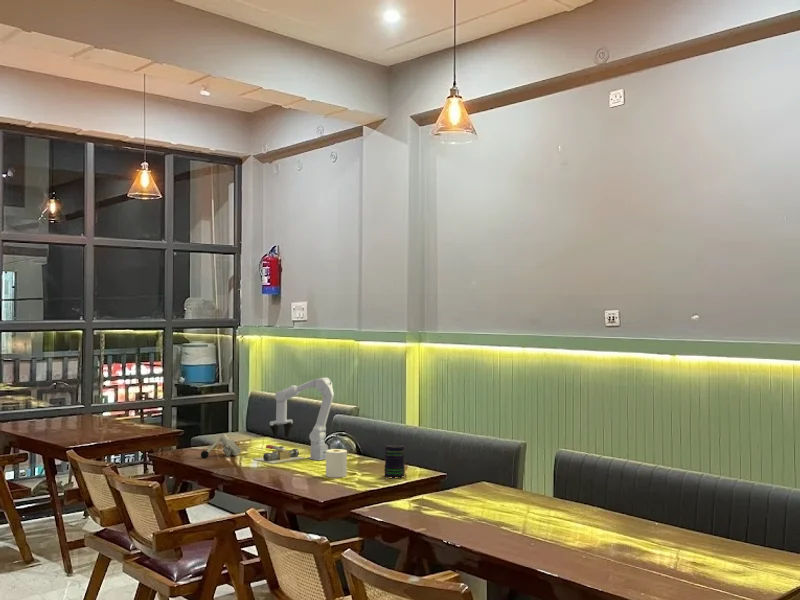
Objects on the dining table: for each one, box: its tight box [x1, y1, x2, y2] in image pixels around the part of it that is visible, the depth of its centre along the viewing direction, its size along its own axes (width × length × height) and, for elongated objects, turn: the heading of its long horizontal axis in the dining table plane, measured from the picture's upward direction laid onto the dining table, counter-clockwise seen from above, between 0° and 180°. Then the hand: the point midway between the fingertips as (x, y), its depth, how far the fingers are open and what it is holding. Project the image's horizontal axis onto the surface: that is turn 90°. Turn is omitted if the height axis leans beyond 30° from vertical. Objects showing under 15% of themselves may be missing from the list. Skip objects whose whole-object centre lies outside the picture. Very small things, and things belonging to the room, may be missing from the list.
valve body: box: [262, 448, 300, 461], centre depth 413 cm, size 6×21×5 cm, turn 138°
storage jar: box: [383, 443, 406, 479], centre depth 374 cm, size 10×10×15 cm
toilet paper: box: [325, 448, 348, 478], centre depth 374 cm, size 10×10×12 cm
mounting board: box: [252, 455, 305, 465], centre depth 415 cm, size 16×22×1 cm
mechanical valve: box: [200, 432, 242, 459], centre depth 419 cm, size 10×18×15 cm
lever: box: [265, 444, 287, 451], centre depth 417 cm, size 14×4×2 cm, turn 48°
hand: (281, 437), depth 424 cm, fingers open, 7 cm apart
